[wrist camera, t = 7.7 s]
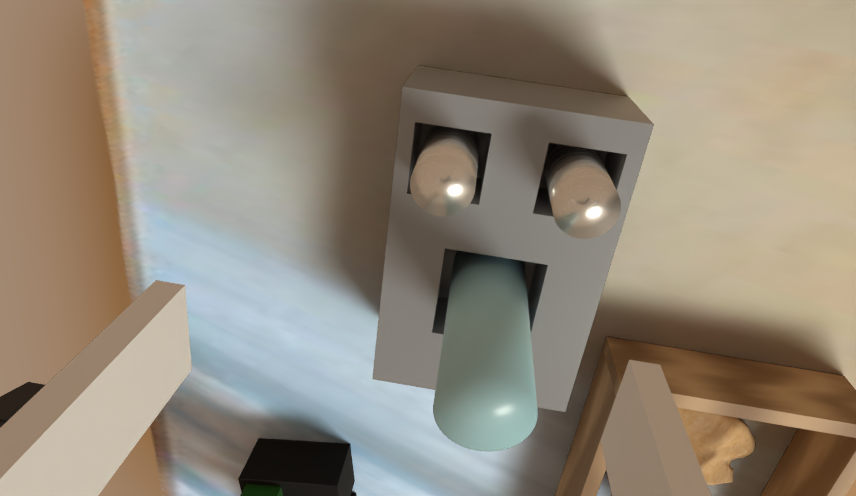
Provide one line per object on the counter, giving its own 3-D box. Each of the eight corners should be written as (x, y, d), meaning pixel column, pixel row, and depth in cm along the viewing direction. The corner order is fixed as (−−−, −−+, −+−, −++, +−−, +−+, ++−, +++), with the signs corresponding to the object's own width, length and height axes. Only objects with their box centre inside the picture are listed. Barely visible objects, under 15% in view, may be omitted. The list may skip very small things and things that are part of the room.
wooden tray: (844, 376, 39) (888, 429, 35) (735, 563, 48) (759, 624, 44) (606, 336, 40) (620, 384, 35) (544, 528, 49) (548, 585, 45)
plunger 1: (483, 125, 31) (480, 160, 26) (474, 177, 32) (469, 221, 27) (428, 116, 31) (413, 149, 26) (421, 169, 33) (406, 210, 27)
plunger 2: (606, 143, 31) (629, 183, 26) (592, 195, 32) (610, 243, 27) (550, 135, 31) (561, 172, 26) (538, 187, 32) (546, 233, 27)
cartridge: (531, 240, 35) (547, 381, 24) (517, 301, 37) (526, 458, 26) (458, 229, 35) (440, 363, 24) (448, 290, 37) (427, 442, 26)
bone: (534, 520, 46) (620, 384, 39) (606, 480, 53) (691, 357, 46) (638, 649, 40) (762, 514, 33) (706, 586, 46) (823, 461, 39)
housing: (628, 96, 33) (654, 124, 27) (556, 352, 41) (565, 412, 36) (417, 65, 33) (402, 86, 28) (388, 324, 41) (372, 378, 36)
